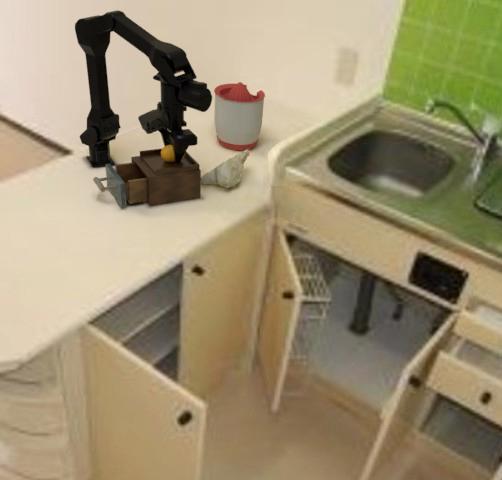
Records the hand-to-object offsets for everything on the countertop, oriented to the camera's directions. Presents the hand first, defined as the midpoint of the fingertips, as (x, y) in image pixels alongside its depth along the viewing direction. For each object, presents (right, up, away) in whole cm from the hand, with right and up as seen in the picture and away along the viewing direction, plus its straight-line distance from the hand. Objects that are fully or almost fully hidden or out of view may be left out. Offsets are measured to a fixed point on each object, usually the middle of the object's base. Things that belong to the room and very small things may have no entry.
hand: (173, 157), depth 172 cm
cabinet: (-3, -8, +5) cm, 10 cm away
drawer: (-11, -10, 0) cm, 15 cm away
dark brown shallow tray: (-2, -2, 0) cm, 2 cm away
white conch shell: (+13, -3, +15) cm, 20 cm away
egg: (0, -1, +1) cm, 1 cm away
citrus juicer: (+13, +13, +37) cm, 41 cm away
